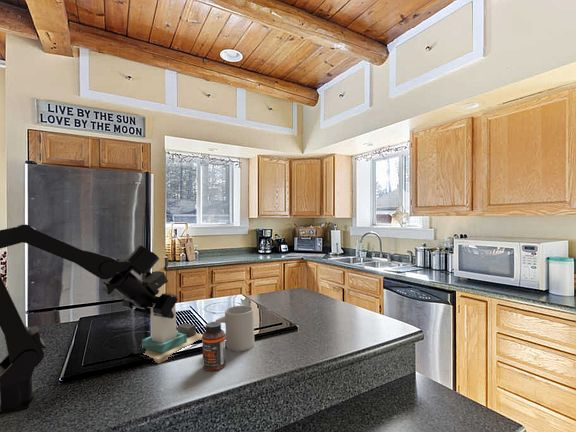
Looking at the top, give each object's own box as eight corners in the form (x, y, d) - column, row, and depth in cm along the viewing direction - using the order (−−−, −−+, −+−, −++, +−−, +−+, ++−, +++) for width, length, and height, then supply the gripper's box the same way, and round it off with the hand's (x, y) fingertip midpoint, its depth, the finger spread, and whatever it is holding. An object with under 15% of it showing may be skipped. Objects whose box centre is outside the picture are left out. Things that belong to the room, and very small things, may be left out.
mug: (250, 337, 103) (248, 303, 102) (258, 348, 95) (256, 311, 95) (212, 345, 98) (210, 309, 98) (217, 356, 90) (216, 318, 90)
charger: (162, 344, 93) (161, 301, 93) (152, 340, 96) (150, 299, 95) (176, 337, 97) (175, 297, 97) (166, 335, 100) (164, 295, 100)
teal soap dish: (159, 363, 87) (158, 348, 87) (130, 353, 94) (129, 339, 94) (207, 339, 103) (206, 326, 103) (179, 332, 109) (179, 320, 109)
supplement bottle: (199, 371, 82) (197, 328, 82) (208, 360, 88) (206, 319, 88) (221, 372, 81) (219, 328, 81) (229, 361, 87) (227, 320, 87)
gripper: (170, 266, 88) (202, 295, 97) (130, 262, 98) (162, 289, 107) (146, 302, 81) (182, 330, 91) (105, 294, 91) (142, 320, 101)
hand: (167, 315), depth 98 cm, fingers closed on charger, 5 cm apart
